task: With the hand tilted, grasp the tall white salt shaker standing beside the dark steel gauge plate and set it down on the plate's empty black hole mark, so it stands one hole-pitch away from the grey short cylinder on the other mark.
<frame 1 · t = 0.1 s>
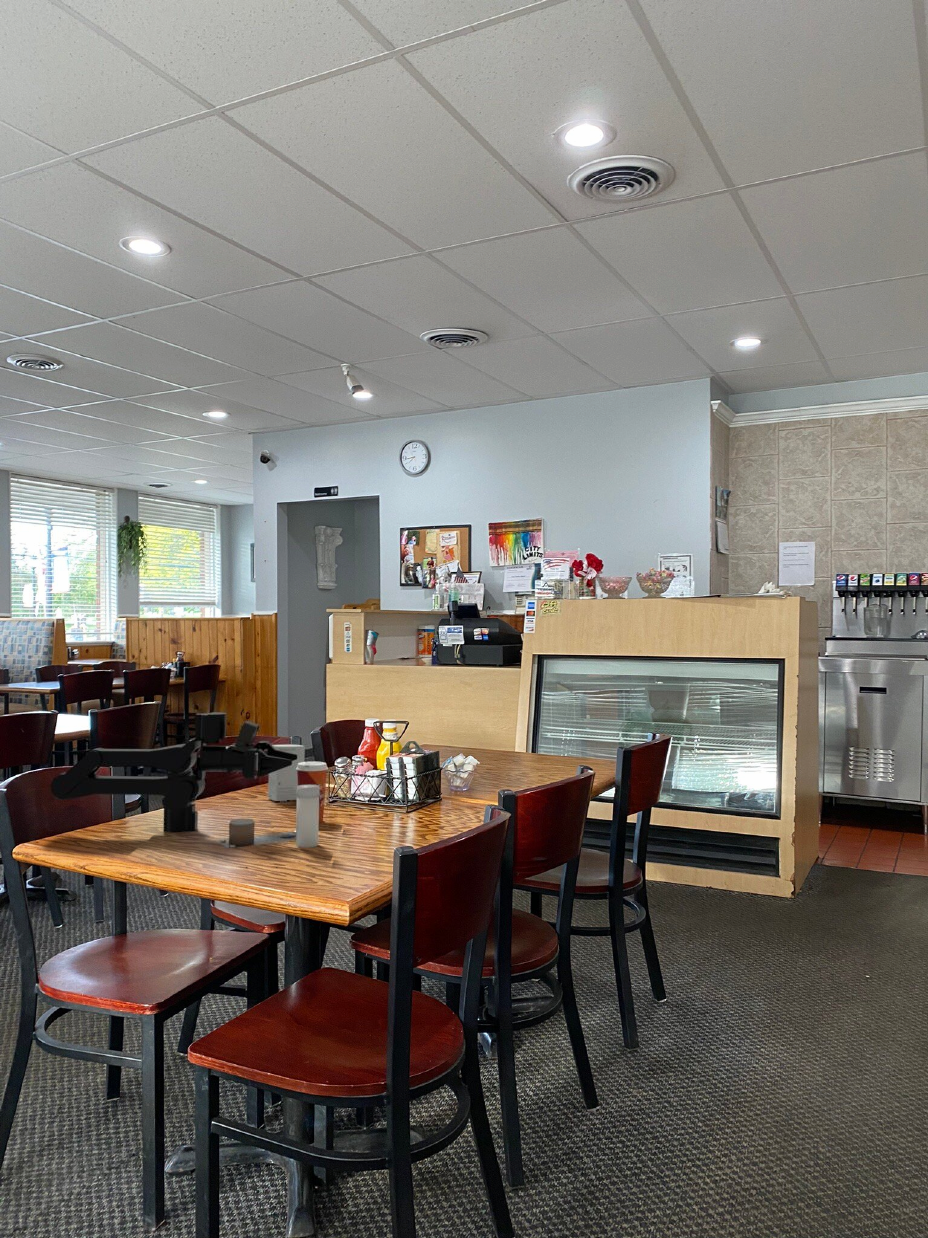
hand: (294, 759, 202), 17 cm above the table, tool horizontal, fingers open, 9 cm apart
gauge plate: (265, 843, 191), on the table
grey short cylinder: (241, 842, 188), point 1 cm above the table, touching gauge plate
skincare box: (285, 800, 244), on the table
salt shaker: (307, 848, 187), on the table
paper cup: (311, 822, 215), on the table
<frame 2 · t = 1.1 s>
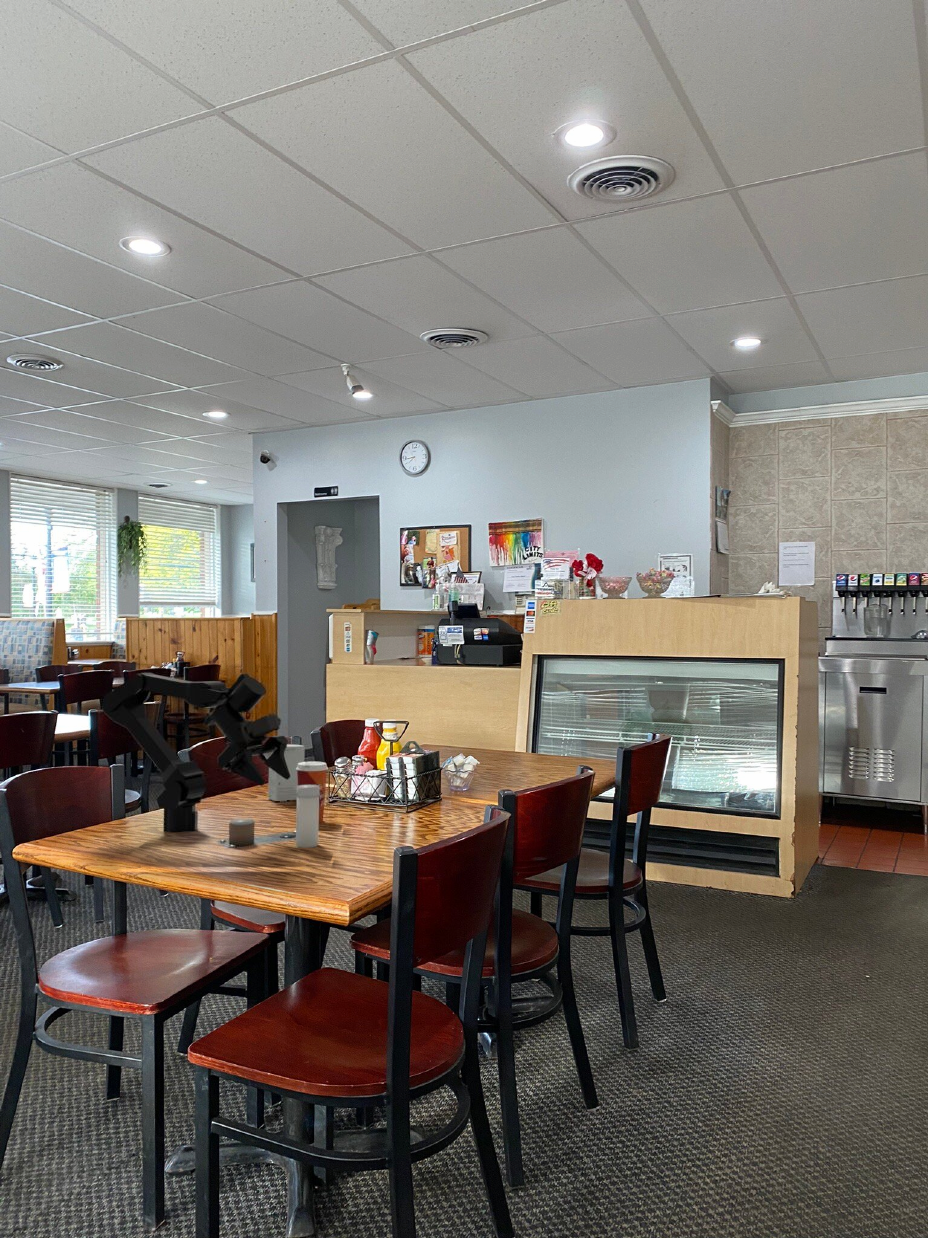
hand: (276, 781, 190), 14 cm above the table, tool tilted 45°, fingers open, 9 cm apart
nothing on the table moved.
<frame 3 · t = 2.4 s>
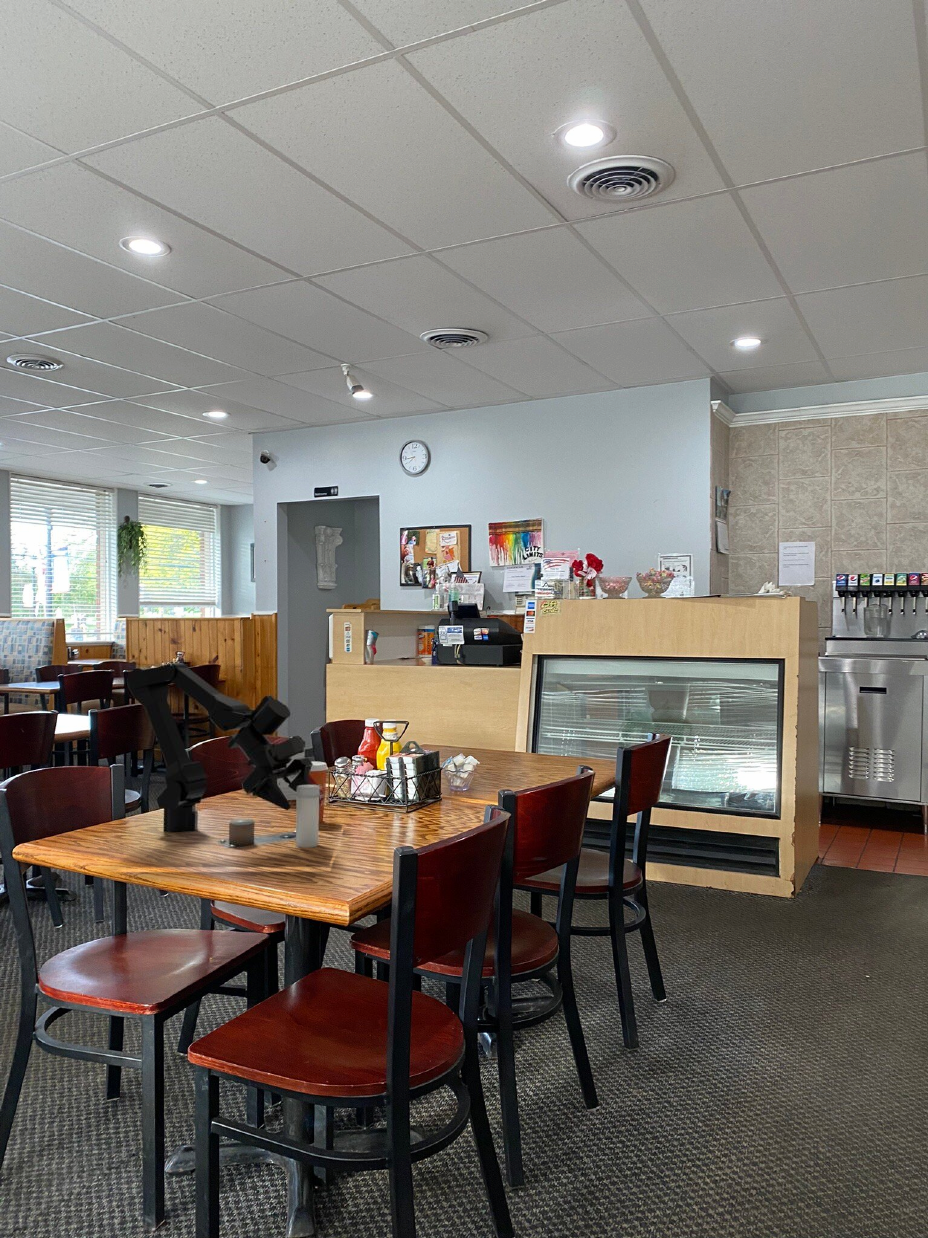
hand: (301, 805, 187), 9 cm above the table, tool tilted 45°, fingers open, 9 cm apart
nothing on the table moved.
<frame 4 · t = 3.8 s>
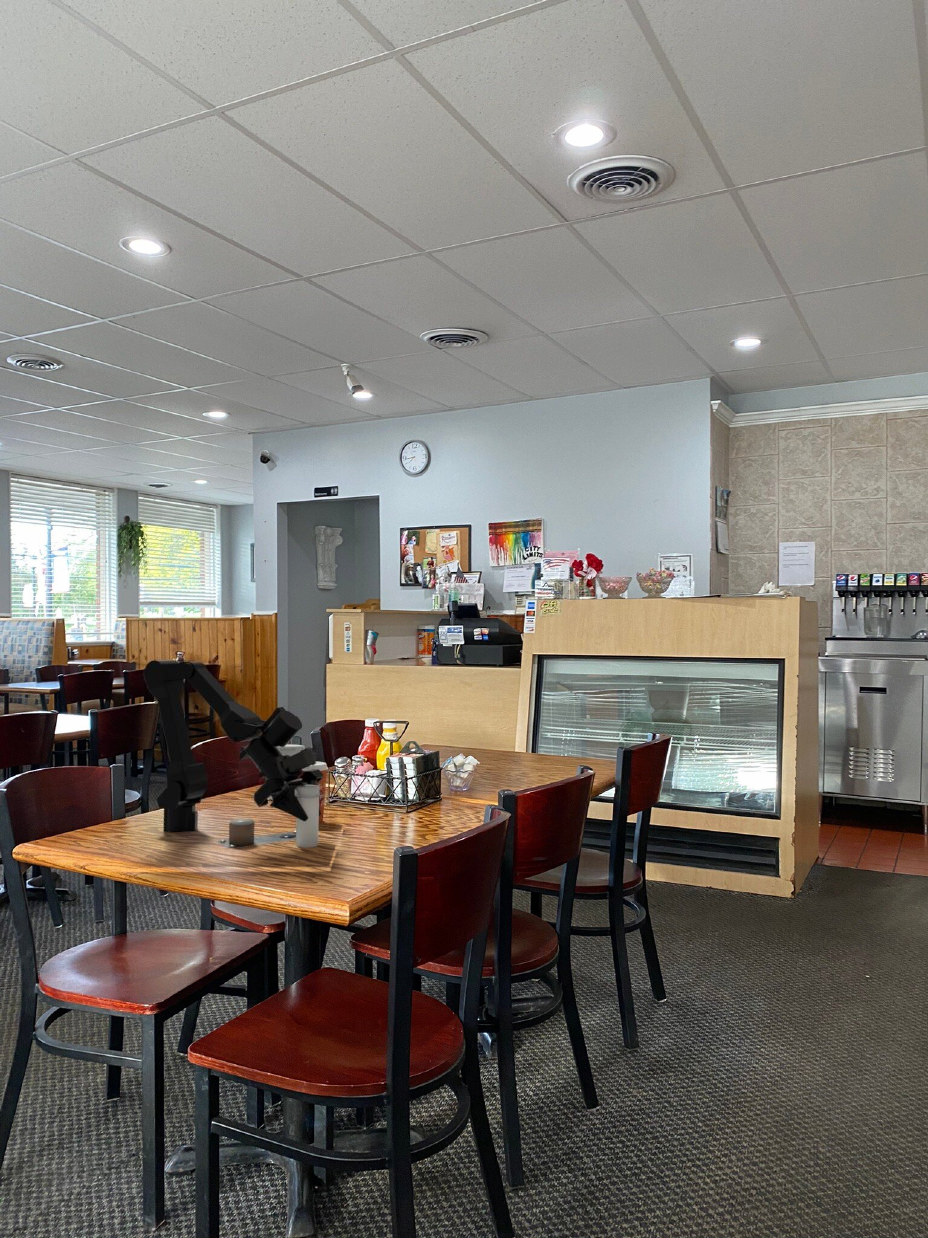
hand: (313, 817, 186), 7 cm above the table, tool tilted 45°, fingers closed on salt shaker, 5 cm apart
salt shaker: (307, 848, 187), on the table, touching gripper
everything else where it was.
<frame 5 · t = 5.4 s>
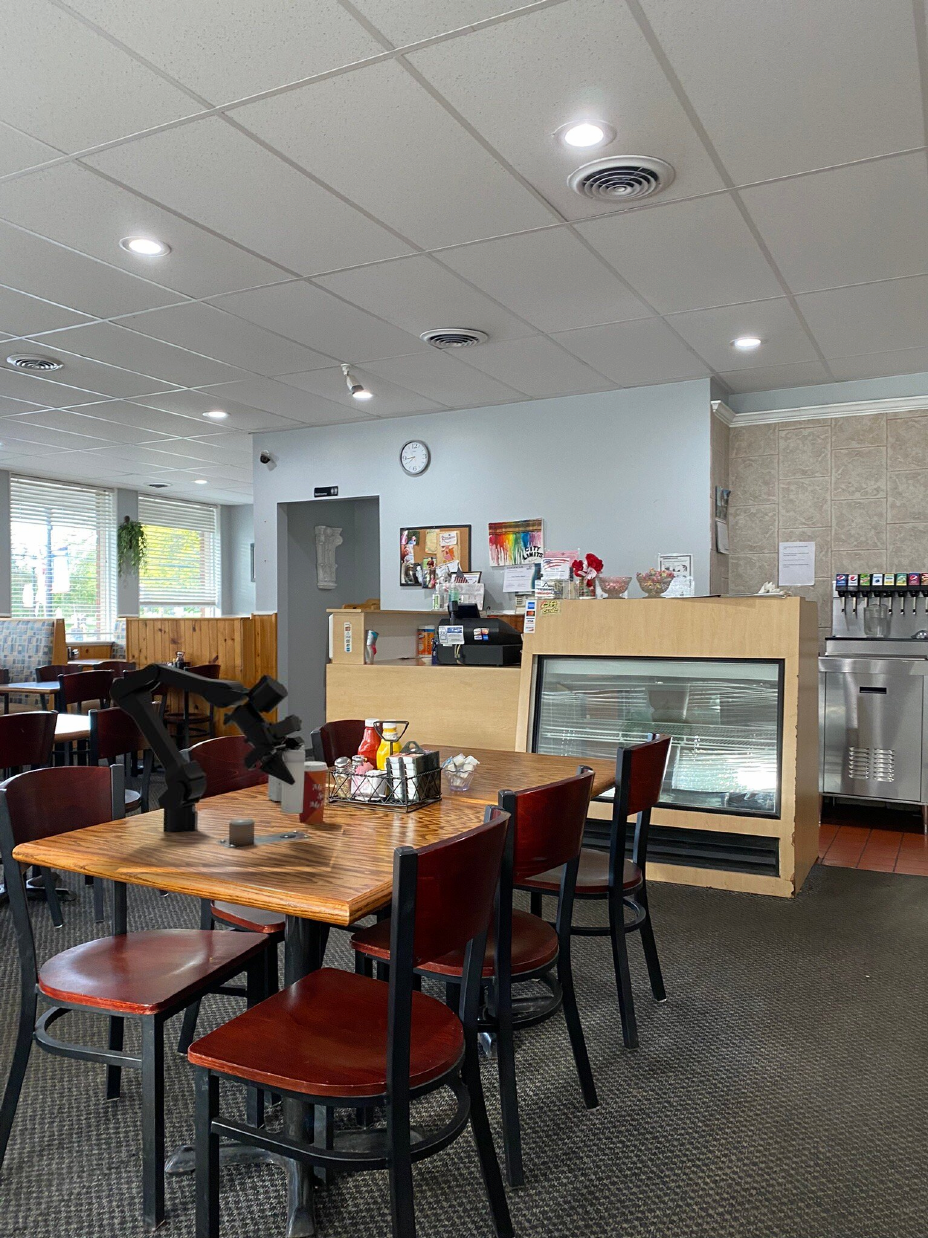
hand: (298, 781, 193), 13 cm above the table, tool tilted 45°, fingers closed on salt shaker, 5 cm apart
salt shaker: (291, 811, 193), point 7 cm above the table, touching gripper
everything else where it was.
when the fingers open (8 cm above the table, at t = 6.8 s): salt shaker drops 1 cm, resting on gauge plate.
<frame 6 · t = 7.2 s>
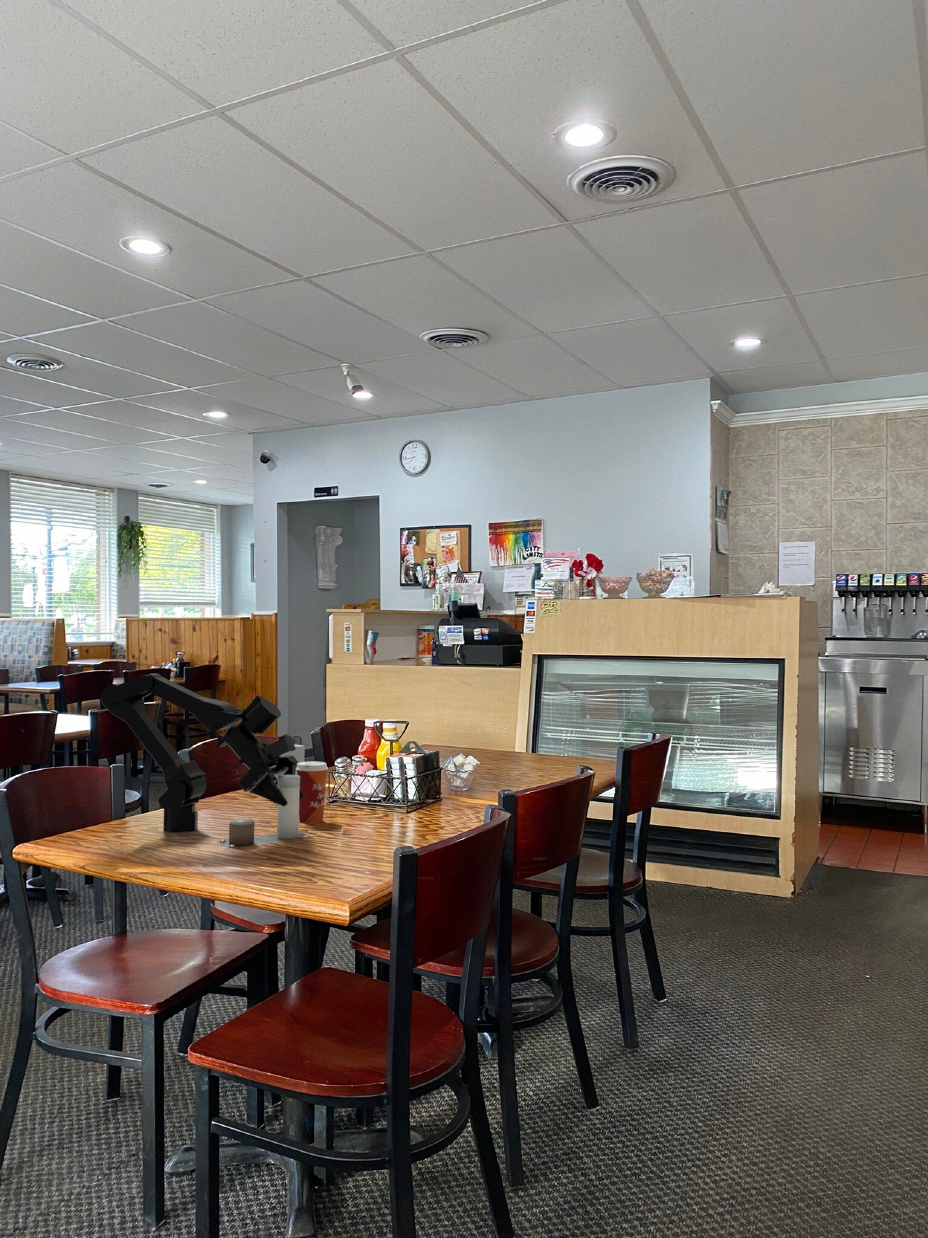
hand: (294, 801, 194), 9 cm above the table, tool tilted 45°, fingers open, 9 cm apart
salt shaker: (287, 836, 194), point 1 cm above the table, touching gauge plate
everything else where it was.
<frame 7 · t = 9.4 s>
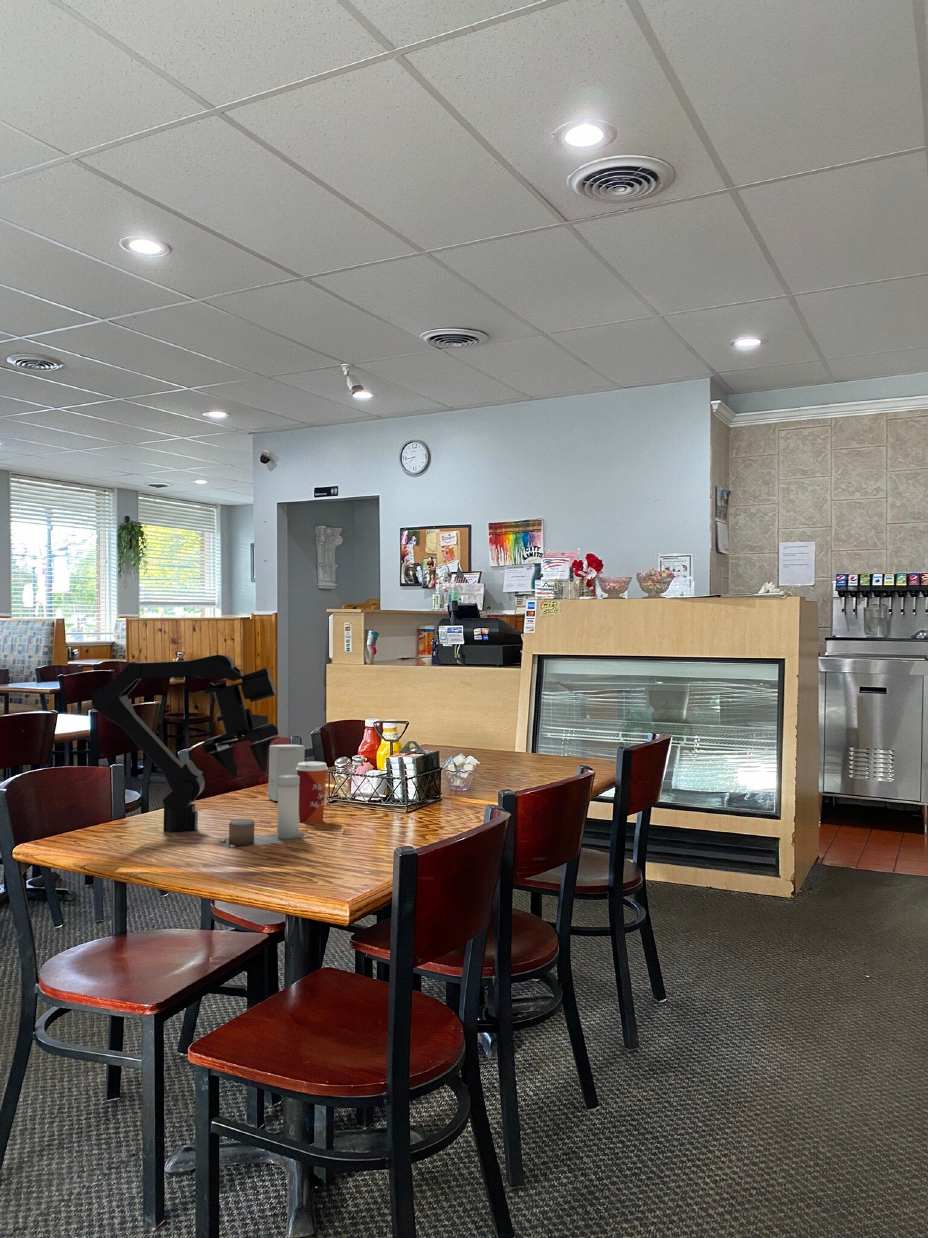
hand: (249, 774, 202), 13 cm above the table, tool tilted 15°, fingers open, 9 cm apart
nothing on the table moved.
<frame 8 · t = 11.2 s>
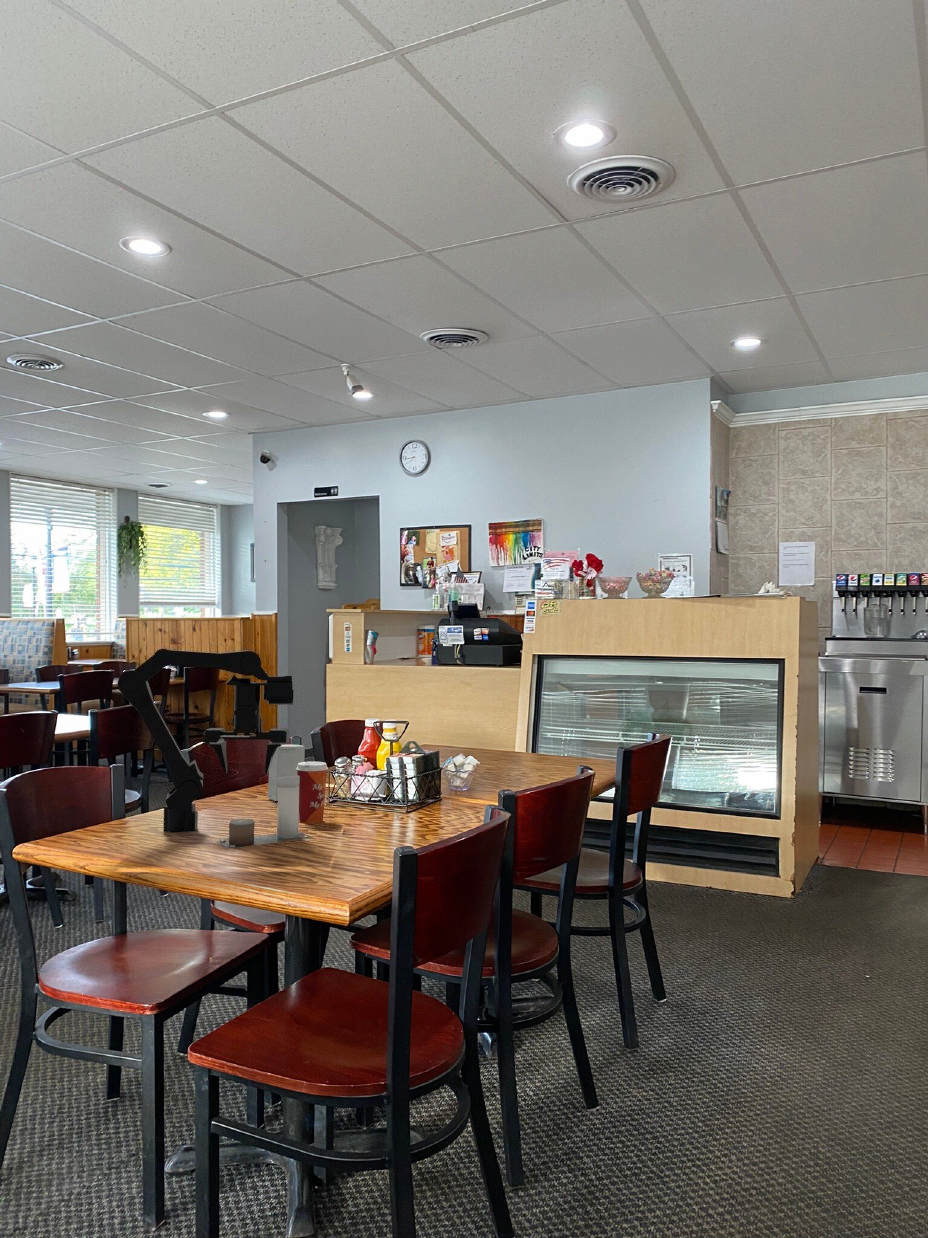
hand: (246, 773, 204), 13 cm above the table, tool pointing down, fingers open, 9 cm apart
nothing on the table moved.
at the end: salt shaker 0.1 cm from the target spot, point 0.8 cm above the table; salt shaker tilted 0°; grey short cylinder moved 0.1 cm from its start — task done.
